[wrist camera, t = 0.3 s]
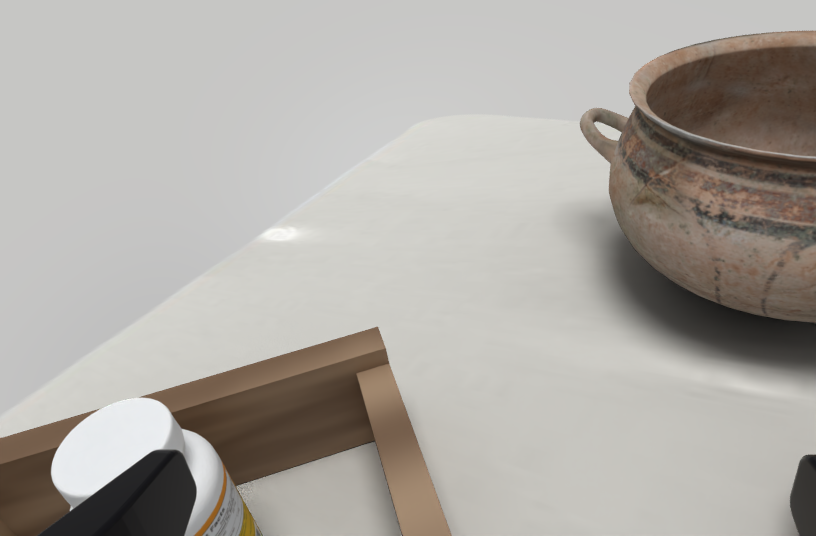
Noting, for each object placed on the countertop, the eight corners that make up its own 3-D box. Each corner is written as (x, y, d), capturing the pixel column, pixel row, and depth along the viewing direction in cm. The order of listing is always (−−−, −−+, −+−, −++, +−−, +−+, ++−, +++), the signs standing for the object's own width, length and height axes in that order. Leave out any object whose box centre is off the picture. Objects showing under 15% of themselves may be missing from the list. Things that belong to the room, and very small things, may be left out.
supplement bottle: (128, 585, 25) (7, 448, 20) (234, 501, 28) (155, 360, 22) (179, 685, 22) (50, 554, 16) (295, 578, 24) (219, 434, 19)
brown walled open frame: (468, 616, 22) (453, 534, 19) (-89, 827, 19) (-228, 776, 16) (396, 408, 31) (377, 326, 28) (7, 532, 28) (-68, 458, 25)
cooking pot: (1058, 260, 33) (1196, 42, 26) (1031, 499, 23) (1247, 246, 16) (636, 170, 48) (652, 18, 41) (507, 289, 38) (498, 113, 31)
